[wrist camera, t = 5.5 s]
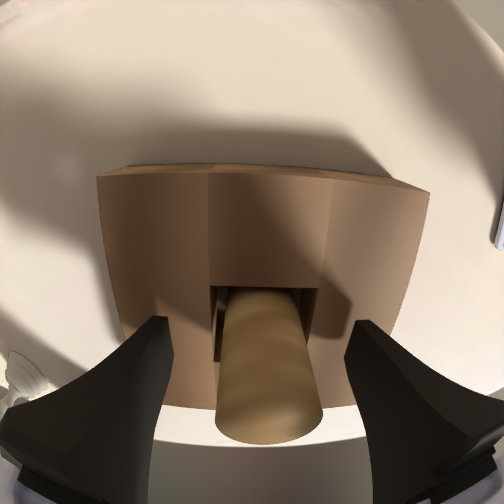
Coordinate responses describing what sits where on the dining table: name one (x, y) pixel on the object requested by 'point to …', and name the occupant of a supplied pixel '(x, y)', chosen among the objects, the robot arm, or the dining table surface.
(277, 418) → the pin
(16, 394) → the chalice
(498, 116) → the dining table surface
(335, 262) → the socket block
